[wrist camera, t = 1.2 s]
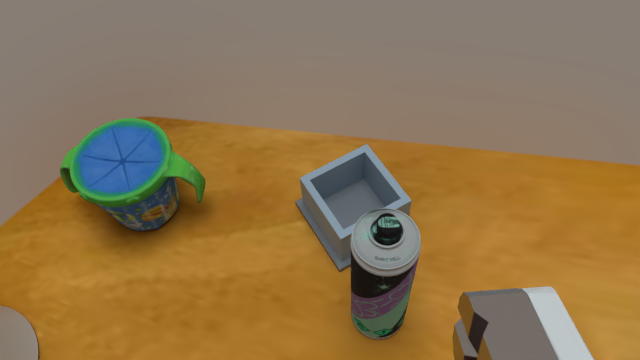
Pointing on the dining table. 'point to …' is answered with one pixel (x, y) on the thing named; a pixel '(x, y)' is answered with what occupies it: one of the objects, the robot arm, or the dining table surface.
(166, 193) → the snack cup
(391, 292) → the spray can
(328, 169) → the collar stand
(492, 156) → the dining table surface
